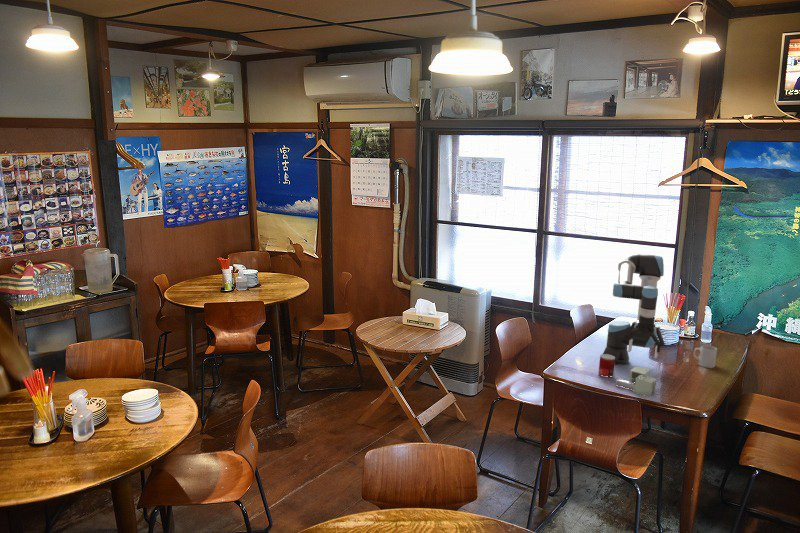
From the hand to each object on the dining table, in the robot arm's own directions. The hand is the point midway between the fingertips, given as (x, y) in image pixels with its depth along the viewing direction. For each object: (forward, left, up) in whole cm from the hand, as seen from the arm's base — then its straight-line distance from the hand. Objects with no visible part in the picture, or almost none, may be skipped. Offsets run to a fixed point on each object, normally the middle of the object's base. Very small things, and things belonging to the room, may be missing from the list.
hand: (642, 354), depth 330 cm
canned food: (-18, 0, -17) cm, 25 cm away
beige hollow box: (0, 0, -17) cm, 17 cm away
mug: (+18, +57, -17) cm, 62 cm away
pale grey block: (+1, -10, -17) cm, 20 cm away
